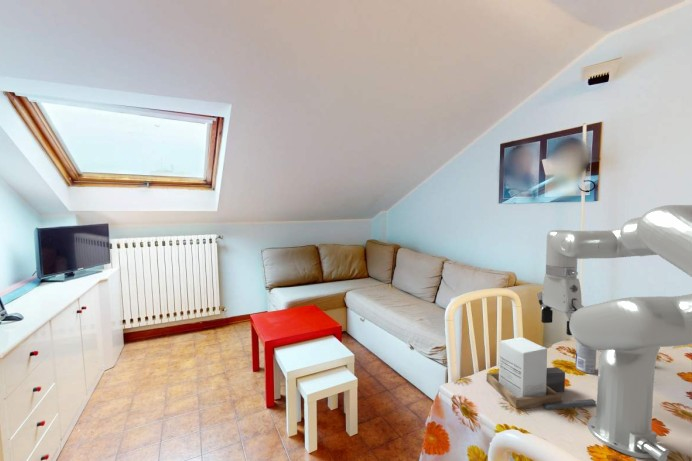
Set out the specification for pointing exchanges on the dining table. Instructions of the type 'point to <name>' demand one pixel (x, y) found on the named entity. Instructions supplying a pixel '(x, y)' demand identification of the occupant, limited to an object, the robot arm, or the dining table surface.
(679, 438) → the dining table surface
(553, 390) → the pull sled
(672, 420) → the dining table surface
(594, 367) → the energy drink
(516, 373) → the supplement box
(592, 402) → the lane rails
